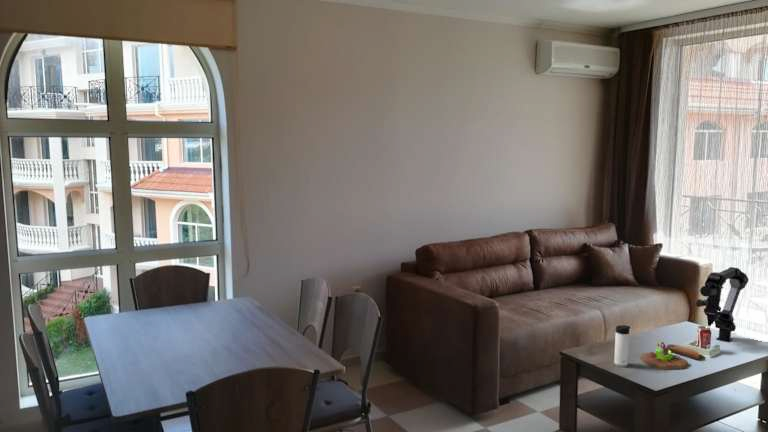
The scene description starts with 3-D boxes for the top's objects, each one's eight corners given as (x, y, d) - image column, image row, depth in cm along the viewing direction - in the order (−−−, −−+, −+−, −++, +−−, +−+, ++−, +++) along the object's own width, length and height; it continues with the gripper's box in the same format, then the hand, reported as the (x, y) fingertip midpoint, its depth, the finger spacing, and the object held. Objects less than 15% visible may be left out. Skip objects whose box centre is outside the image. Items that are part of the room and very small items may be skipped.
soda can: (713, 351, 305) (714, 328, 304) (702, 352, 303) (704, 330, 302) (702, 346, 312) (704, 325, 310) (692, 348, 310) (693, 326, 308)
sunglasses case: (707, 357, 299) (704, 348, 296) (700, 366, 296) (697, 357, 293) (674, 347, 314) (671, 338, 311) (667, 356, 311) (664, 347, 309)
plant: (632, 358, 299) (633, 337, 298) (663, 354, 305) (664, 333, 304) (662, 373, 280) (663, 350, 279) (694, 368, 286) (695, 346, 285)
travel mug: (627, 368, 285) (629, 328, 283) (612, 365, 289) (614, 326, 286) (629, 364, 290) (631, 325, 288) (615, 361, 294) (617, 323, 292)
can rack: (693, 345, 318) (693, 338, 317) (720, 352, 307) (721, 345, 306) (681, 350, 310) (682, 343, 309) (709, 357, 299) (710, 351, 298)
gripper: (700, 292, 327) (696, 319, 327) (695, 294, 312) (691, 323, 312) (722, 296, 320) (718, 324, 321) (718, 298, 305) (714, 328, 306)
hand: (710, 324), depth 315 cm, fingers open, 9 cm apart
